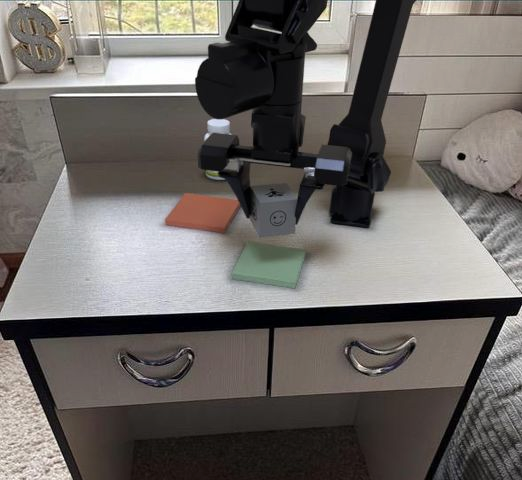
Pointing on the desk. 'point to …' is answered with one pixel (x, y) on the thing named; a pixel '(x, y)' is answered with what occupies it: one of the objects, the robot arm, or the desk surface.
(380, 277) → the desk surface
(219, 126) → the supplement bottle
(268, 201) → the dice cube
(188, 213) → the terracotta mat
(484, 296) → the desk surface
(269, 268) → the green mat
